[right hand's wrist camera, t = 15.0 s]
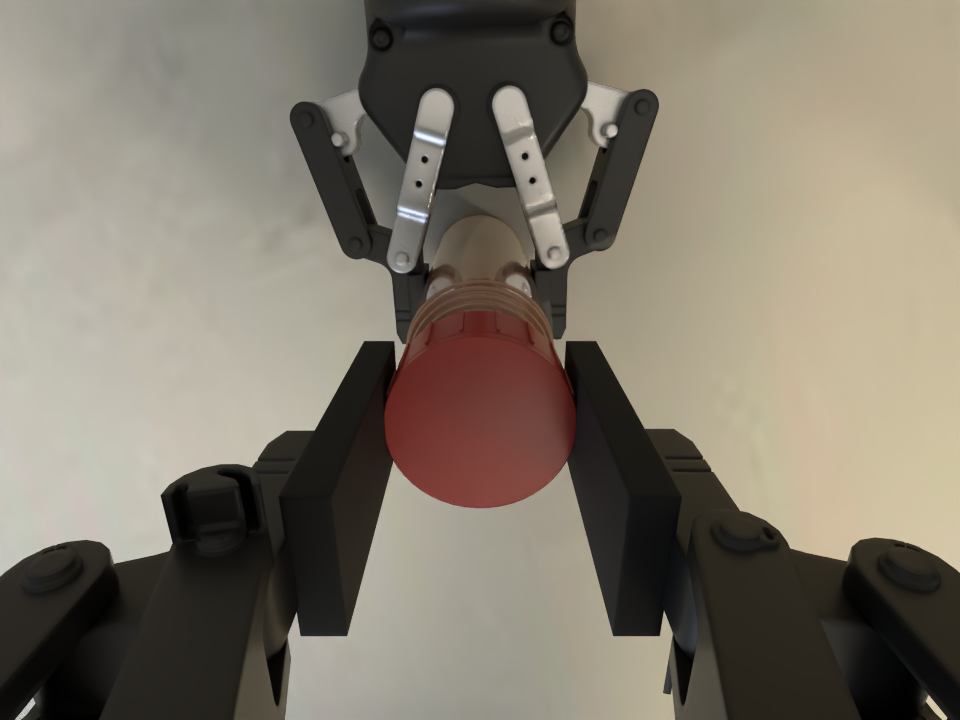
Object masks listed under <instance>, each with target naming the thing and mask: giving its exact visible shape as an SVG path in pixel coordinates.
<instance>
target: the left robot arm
mask: <svg viewBox="0 0 960 720" xmlns="http://www.w3.org/2000/svg"><path fill="white" fill-rule="evenodd" d="M364 3H365V14H366V25H367V36H368V52H367V59H366V62H365V66H364V69H363V71H362V73H361V76H360V79H359V84H358V89H355V90H352V91H349V92H347V93H344V94H341V95H338V96H335V97H333V98H330V99H327V100H324V101H321V102H318V103H316V102H300V103H297V104H296V105H295V106H294V107H293V108H292V110H291V113H290V122H291V125H292V128H293V130H294V133H295V135H296V138H297V140H298V142H299V145H300V147H301V150H302V152H303V155H304V157H305V160H306V162H307V165H308V167H309V170H310V172H311V174H312V177H313V179H314V182H315V184H316V187H317V189H318V192H319V194H320V197H321V199H322V202H323V204H324V207H325V209H326V211H327V214H328V216H329V219H330V221H331V224H332V226H333V229H334V231H335V234H336V236H337V239H338V241H339V244H340V246H341V248H342V250H343V252H344V253H345V254H346V255H347V256H348V257H350V258H352V259H362V258H365V259H368V260H371V261H374V262H377V263H380V264H382V265H383V266H385V267H386V268H387V269H388V270H389V272H390V274H391V277H392V283H393V294H394V305H395V316H396V327H397V334H398V336H399V338H400V340H401V342H402V344H406V340H407V335H408V331H409V328H410V325H411V322H412V319H413V317H414V314H415V311H416V308H417V306H418V303H419V300H420V297H421V295H422V292H423V289H424V286H425V283H426V281H427V278H428V275H429V263H424V260H423V246H424V242H425V238H426V234H427V230H428V226H429V222H430V218H431V214H432V211H433V208H434V204H435V201H436V197H437V193H438V190H442V189H457V188H461V187H464V186H467V185H470V184H473V183H479V184H483V185H487V186H491V187H495V188H505V187H515V189H516V192H517V195H518V198H519V201H520V204H521V207H522V210H523V213H524V216H525V219H526V222H527V225H528V228H529V231H530V234H531V237H532V240H533V243H534V247H535V260H530V272H531V274H532V277H533V280H534V283H535V285H536V288H537V291H538V294H539V296H540V299H541V302H542V305H543V307H544V310H545V313H546V316H547V318H548V321H549V324H550V327H551V330H552V334H553V339H561V338H562V335H563V333H564V331H565V329H566V303H567V272H568V268H569V266H570V264H571V263H572V262H573V261H574V260H575V259H576V258H578V257H580V256H582V255H585V254H587V253H590V252H592V251H604V250H606V249H608V248H609V247H610V246H611V245H612V244H613V243H614V240H615V238H616V235H617V232H618V229H619V226H620V223H621V220H622V217H623V214H624V211H625V208H626V205H627V202H628V199H629V196H630V193H631V190H632V187H633V184H634V181H635V178H636V175H637V172H638V169H639V166H640V163H641V160H642V157H643V154H644V151H645V148H646V145H647V142H648V139H649V136H650V133H651V130H652V127H653V124H654V121H655V118H656V115H657V112H658V109H659V102H658V99H657V97H656V95H655V94H654V93H653V92H652V91H650V90H647V89H641V90H637V91H633V92H627V91H623V90H620V89H616V88H613V87H609V86H606V85H602V84H599V83H595V82H591V81H588V77H587V73H586V70H585V67H584V66H583V64H582V61H581V59H580V57H579V54H578V51H577V46H576V40H575V17H576V0H364ZM579 108H580V109H581V110H583V111H584V112H585V113H586V115H587V117H588V121H589V127H588V136H589V139H590V141H591V142H592V143H593V144H594V145H596V146H598V147H599V150H598V153H597V157H596V160H595V163H594V166H593V170H592V173H591V176H590V179H589V183H588V186H587V189H586V193H585V196H584V199H583V202H582V206H581V209H580V212H579V215H578V219H575V220H573V221H570V222H568V223H565V224H563V225H562V223H561V220H560V217H559V213H558V210H557V204H556V200H555V196H554V193H553V190H552V186H551V183H550V180H549V176H548V173H547V170H546V166H545V163H544V160H545V158H546V157H547V155H548V154H549V152H550V151H551V149H552V148H553V147H554V145H555V144H556V142H557V141H558V139H559V138H560V136H561V135H562V133H563V132H564V130H565V129H566V127H567V126H568V125H569V123H570V122H571V120H572V119H573V117H574V116H575V114H576V113H577V111H578V110H579ZM367 116H369V117H370V118H371V120H372V121H373V122H374V123H375V125H376V126H377V127H378V129H379V130H380V131H381V132H382V134H383V135H384V136H385V138H386V139H387V140H388V141H389V143H390V144H391V145H392V147H393V148H394V149H395V150H396V152H397V153H398V154H399V156H400V157H401V158H402V159H403V161H404V162H405V163H406V169H405V173H404V178H403V182H402V186H401V191H400V195H399V199H398V204H397V213H396V218H395V223H394V227H393V230H392V229H389V228H386V227H383V226H380V225H378V224H377V221H376V218H375V216H374V213H373V210H372V208H371V205H370V202H369V200H368V197H367V194H366V192H365V189H364V186H363V184H362V181H361V178H360V176H359V173H358V170H357V168H356V165H355V162H354V160H353V157H352V155H353V154H355V153H356V152H357V151H358V150H359V149H360V147H361V144H362V137H361V130H360V129H361V124H362V122H363V120H364V119H365V118H366V117H367Z"/></svg>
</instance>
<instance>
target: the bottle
mask: <svg viewBox="0 0 960 720" xmlns="http://www.w3.org/2000/svg"><path fill="white" fill-rule="evenodd" d="M461 310H464V311H465V312H468V311H493V312H495V310H498V311H499V313H503V314H507V315H510V316H513V317H515V318H518V319H520V320H522V321H524V322H527V321H528V322H530V325H531V326H532V327H533V328H535V329H536V330H537V331H538V332H540V333H541V334H542V335H543V336H544V337H545V338H546V339H547V341H548V342H549V343H551V342H552V343H553V344H554V340H553V334H552V330H551V327H550V324H549V321H548V318H547V316H546V313H545V310H544V307H543V305H542V302H541V299H540V296H539V294H538V291H537V288H536V285H535V283H534V280H533V277H532V274H531V272H530V269H529V266H528V263H527V261H526V258H525V255H524V253H523V250H522V247H521V244H520V242H519V239H518V237H517V236H516V234H515V233H514V231H513V230H512V229H511V228H510V227H509V226H508V225H507V224H505V223H504V222H503V221H501V220H499V219H497V218H494V217H491V216H486V215H474V216H469V217H466V218H463V219H461V220H459V221H458V222H456V223H455V224H453V225H452V226H451V227H450V228H449V229H448V230H447V231H446V233H445V234H444V236H443V238H442V240H441V242H440V245H439V247H438V250H437V253H436V256H435V259H434V261H433V264H432V267H431V270H430V272H429V275H428V278H427V281H426V283H425V286H424V289H423V292H422V295H421V297H420V300H419V303H418V306H417V308H416V311H415V314H414V317H413V319H412V322H411V325H410V328H409V331H408V335H407V340H406V345H407V343H409V344H410V343H411V342H412V341H413V340H414V339H415V338H416V337H417V336H418V334H419V333H421V332H422V331H423V330H424V329H426V328H427V327H428V326H429V324H430V323H431V322H433V323H435V322H437V321H438V320H441V319H443V318H445V317H447V316H450V315H454V314H457V313H461Z"/></svg>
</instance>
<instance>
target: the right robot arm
mask: <svg viewBox="0 0 960 720" xmlns="http://www.w3.org/2000/svg"><path fill="white" fill-rule="evenodd" d="M564 369H566V372H567V374H568V377H569V380H570V383H571V386H572V388H573V391H574V397H573V399H574V402H575V406H576V428H575V441H574V445H573V448H572V451H571V453H570V455H569V457H568V459H567V463H568V466H569V470H570V474H571V478H572V481H573V485H574V489H575V493H576V497H577V500H578V504H579V508H580V512H581V516H582V519H583V523H584V527H585V531H586V535H587V538H588V542H589V546H590V550H591V553H592V557H593V561H594V565H595V569H596V572H597V576H598V580H599V584H600V588H601V591H602V595H603V599H604V603H605V607H606V610H607V614H608V618H609V622H610V625H611V629H612V633H613V636H660V631H661V625H662V618H663V612H664V611H665V614H666V616H667V619H668V621H669V624H670V627H671V629H672V632H673V637H672V643H671V649H670V655H669V661H668V666H667V672H666V678H665V684H664V691H663V693H665V694H671V689H672V691H673V701H674V711H675V720H942V719H941V718H940V717H939V716H938V715H937V714H936V713H935V712H934V711H933V710H932V709H931V707H930V706H929V705H928V704H927V703H926V700H927V697H928V695H929V696H930V697H931V698H932V699H933V700H934V702H935V703H936V704H937V705H938V707H939V708H940V709H941V710H942V711H943V713H944V714H945V715H946V716H947V720H960V573H959V572H958V571H957V570H956V569H954V568H953V567H952V566H950V565H949V564H947V563H946V562H945V561H943V560H942V559H940V558H939V557H938V556H936V555H934V554H931V553H929V552H927V551H925V550H923V549H921V548H920V547H917V546H915V545H912V544H909V543H904V542H902V541H897V540H893V539H883V538H870V539H864V540H860V541H858V542H857V543H856V544H855V545H854V546H852V548H851V551H850V554H849V558H848V561H847V562H846V561H842V560H837V559H832V558H827V557H823V556H818V555H813V554H809V553H804V552H801V551H797V550H794V549H790V547H789V545H788V543H787V541H786V540H785V538H784V537H783V536H782V534H781V533H780V531H779V530H777V529H776V528H775V527H773V526H772V525H771V524H769V523H768V522H767V521H765V520H763V519H761V518H759V517H756V516H754V515H752V514H750V513H747V512H742V511H740V510H739V509H738V507H737V506H736V504H735V503H734V501H733V500H732V499H731V497H730V496H729V494H728V493H727V491H726V490H725V488H724V487H723V485H722V484H721V483H720V481H719V480H718V478H717V477H716V475H715V474H714V472H711V468H710V467H709V465H708V464H707V462H706V461H705V460H703V456H702V455H701V453H700V452H699V450H698V449H697V448H696V446H695V445H694V443H693V442H692V441H691V440H689V439H688V438H686V437H685V436H683V435H682V434H680V433H679V432H677V431H676V430H674V429H644V427H643V425H642V423H641V421H640V420H639V418H638V416H637V414H636V412H635V411H634V409H633V407H632V405H631V403H630V402H629V400H628V398H627V396H626V394H625V393H624V391H623V389H622V387H621V385H620V384H619V382H618V380H617V378H616V376H615V375H614V373H613V371H612V369H611V367H610V366H609V364H608V362H607V360H606V358H605V357H604V355H603V353H602V351H601V349H600V348H599V346H598V344H597V342H596V341H566V352H565V368H564ZM395 370H396V362H395V346H394V341H364V343H363V345H362V346H361V348H360V350H359V352H358V354H357V355H356V357H355V359H354V361H353V363H352V364H351V366H350V368H349V370H348V372H347V373H346V375H345V377H344V379H343V381H342V382H341V384H340V386H339V388H338V390H337V392H336V393H335V395H334V397H333V399H332V401H331V402H330V404H329V406H328V408H327V410H326V411H325V413H324V415H323V417H322V419H321V420H320V422H319V424H318V426H317V428H316V429H315V431H286V432H284V433H283V434H281V435H280V436H279V437H277V438H276V439H274V440H273V441H271V442H270V443H268V445H267V446H266V447H265V449H264V450H263V452H262V453H261V455H260V456H259V458H258V461H256V462H255V464H254V465H253V467H252V468H251V467H247V466H243V465H239V464H220V465H215V466H211V467H206V468H201V469H199V470H196V471H194V472H191V473H189V474H186V475H184V476H182V477H181V478H179V479H178V480H176V481H175V482H173V483H171V484H170V485H169V486H168V487H167V488H166V490H165V491H164V492H163V493H162V494H161V499H162V503H163V507H164V511H165V515H166V519H167V523H168V527H169V530H170V534H171V538H172V542H173V544H172V546H171V548H170V551H168V552H165V553H161V554H157V555H154V556H149V557H144V558H139V559H135V560H130V561H125V562H121V563H116V564H114V563H113V559H112V556H111V553H110V550H109V549H108V548H107V547H106V546H105V545H103V544H102V543H101V542H95V541H89V540H81V541H72V542H65V543H61V544H57V545H55V546H51V547H48V548H45V549H43V550H41V551H39V552H37V553H35V554H33V555H31V556H29V557H27V558H25V559H23V560H22V561H20V562H19V563H17V564H16V565H15V566H13V567H12V568H11V569H9V570H8V571H6V572H5V573H4V574H3V575H2V576H1V577H0V720H15V719H16V717H17V716H18V715H19V714H20V713H21V711H22V710H23V709H24V708H25V706H26V705H27V704H28V703H29V701H30V700H31V699H32V698H34V701H35V703H36V704H35V705H34V706H33V707H32V709H31V710H30V711H29V713H28V714H27V715H26V716H25V717H24V718H23V719H22V720H285V712H286V702H287V692H288V683H289V673H290V663H291V656H290V649H289V643H288V637H287V636H288V633H289V630H290V628H291V625H292V623H293V620H294V617H295V615H296V612H297V616H298V622H299V628H300V635H301V636H347V634H348V631H349V627H350V623H351V619H352V616H353V612H354V608H355V604H356V600H357V597H358V593H359V589H360V585H361V581H362V578H363V574H364V570H365V566H366V562H367V559H368V555H369V551H370V547H371V543H372V540H373V536H374V532H375V528H376V525H377V521H378V517H379V513H380V509H381V506H382V502H383V498H384V494H385V490H386V487H387V483H388V479H389V475H390V471H391V468H392V464H393V459H392V457H391V455H390V452H389V450H388V447H387V444H386V437H385V423H384V409H385V403H386V400H387V398H386V393H387V390H388V387H389V385H390V382H391V379H392V376H393V374H394V371H395Z"/></svg>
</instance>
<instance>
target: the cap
mask: <svg viewBox="0 0 960 720" xmlns="http://www.w3.org/2000/svg"><path fill="white" fill-rule="evenodd" d="M573 397H574V391H573V388H572V386H571V383H570V380H569V377H568V374H567V372H566V369H564V370H563V367H562V364H561V362H560V360H559V357H558V355H557V353H556V350H555V347H554V344H553V343H552V342H551V343H549V342H548V341H547V339H546V338H545V337H544V336H543V335H542V334H541V333H540V332H538V331H537V330H536V329H535V328H533V327H532V326H531V325H530V322H528V321H527V322H524V321H522V320H520V319H518V318H515V317H513V316H510V315H507V314H503V313H499V311H498V310H495V312H493V311H468V312H465V311H464V310H461V313H457V314H454V315H450V316H447V317H445V318H443V319H441V320H438V321H437V322H435V323H433V322H431V323H430V324H429V326H428V327H427V328H426V329H424V330H423V331H422V332H421V333H419V334H418V336H417V337H416V338H415V339H414V340H413V341H412V342H411V343H410V344H409V343H407V345H406V347H405V350H404V353H403V356H402V358H401V360H400V363H399V366H398V369H397V371H396V370H395V371H394V374H393V376H392V379H391V382H390V385H389V387H388V390H387V393H386V398H387V400H386V403H385V409H384V423H385V437H386V444H387V447H388V450H389V452H390V455H391V457H392V459H393V460H394V462H395V464H396V465H397V467H398V468H399V470H400V471H401V472H402V473H403V475H404V476H405V477H406V478H407V479H408V480H409V481H410V482H411V483H412V484H413V485H415V486H416V487H417V488H419V489H420V490H421V491H423V492H425V493H426V494H428V495H430V496H431V497H434V498H436V499H438V500H440V501H443V502H446V503H449V504H452V505H457V506H462V507H469V508H491V507H499V506H504V505H508V504H512V503H515V502H517V501H520V500H523V499H525V498H527V497H529V496H531V495H533V494H534V493H536V492H537V491H539V490H540V489H542V488H543V487H544V486H546V485H547V484H548V483H549V482H550V481H551V480H552V479H553V478H554V477H555V476H556V475H557V474H558V473H559V472H560V470H561V469H562V467H563V466H564V464H565V463H566V461H567V459H568V457H569V455H570V453H571V451H572V448H573V445H574V441H575V428H576V406H575V402H574V399H573Z"/></svg>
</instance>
